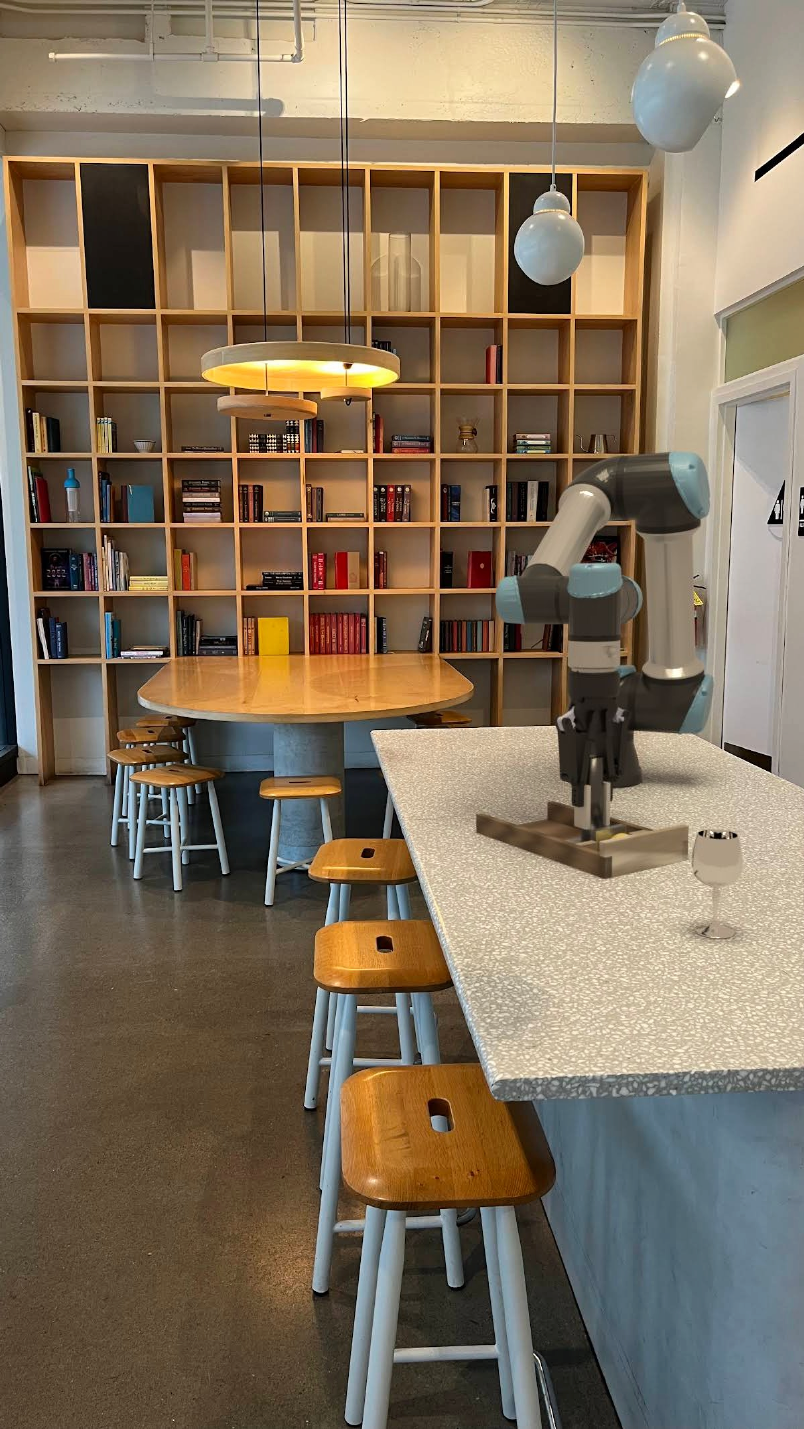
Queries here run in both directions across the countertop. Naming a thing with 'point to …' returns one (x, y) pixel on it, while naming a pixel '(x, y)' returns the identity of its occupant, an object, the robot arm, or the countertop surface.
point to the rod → (597, 807)
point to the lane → (590, 843)
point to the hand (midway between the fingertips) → (592, 825)
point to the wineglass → (716, 870)
